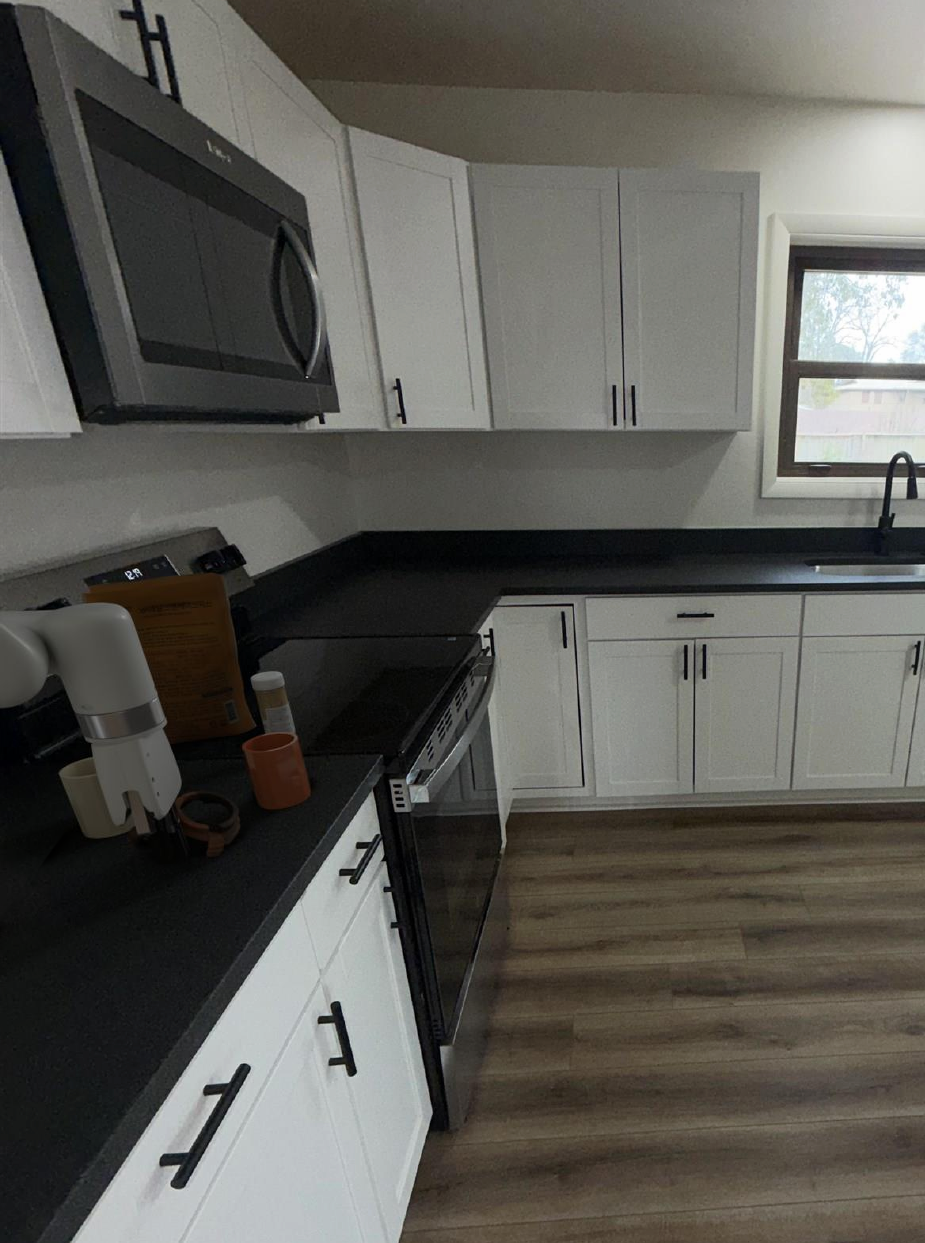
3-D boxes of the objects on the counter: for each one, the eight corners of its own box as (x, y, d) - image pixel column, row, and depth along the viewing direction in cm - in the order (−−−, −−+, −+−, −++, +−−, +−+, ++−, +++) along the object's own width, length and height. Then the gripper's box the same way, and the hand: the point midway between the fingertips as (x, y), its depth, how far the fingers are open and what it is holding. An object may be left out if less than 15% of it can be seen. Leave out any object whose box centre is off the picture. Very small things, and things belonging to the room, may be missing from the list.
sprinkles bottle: (271, 748, 123) (251, 672, 117) (301, 743, 124) (282, 668, 119) (269, 759, 119) (248, 681, 113) (300, 754, 121) (281, 677, 115)
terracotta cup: (254, 813, 103) (238, 755, 99) (261, 791, 109) (245, 736, 105) (309, 804, 105) (295, 747, 101) (312, 783, 111) (299, 729, 107)
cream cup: (75, 842, 96) (50, 782, 92) (92, 817, 102) (69, 759, 98) (138, 832, 98) (116, 772, 94) (151, 808, 104) (131, 751, 100)
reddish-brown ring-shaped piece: (208, 824, 101) (223, 779, 98) (244, 870, 98) (261, 825, 95) (106, 844, 91) (120, 794, 87) (143, 896, 88) (158, 847, 84)
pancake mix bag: (262, 735, 128) (219, 574, 116) (133, 753, 121) (74, 584, 109) (266, 722, 133) (225, 567, 122) (143, 738, 127) (87, 576, 115)
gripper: (104, 699, 85) (154, 833, 93) (55, 750, 73) (118, 900, 80) (178, 691, 88) (221, 822, 96) (143, 738, 75) (196, 885, 83)
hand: (173, 857), depth 88 cm, fingers closed
